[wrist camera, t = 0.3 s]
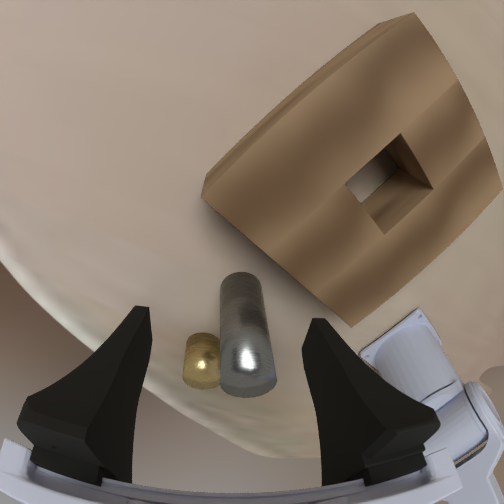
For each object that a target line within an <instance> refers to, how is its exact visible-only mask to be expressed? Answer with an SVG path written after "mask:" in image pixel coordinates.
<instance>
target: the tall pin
mask: <svg viewBox="0 0 504 504" xmlns="http://www.w3.org/2000/svg"><path fill="white" fill-rule="evenodd" d="M276 382H277V378H276V372H275V366H274V360H273V354H272V348H271V342H270V336H269V330H268V324H267V318H266V312H265V307H264V301H263V295H262V289H261V284H260V282H259V280H258V279H257V278H256V277H255V276H254V275H252V274H250V273H246V272H237V273H233V274H231V275H229V276H227V277H226V278H225V279H224V280H223V282H222V284H221V288H220V386H221V388H222V389H223V390H224V391H225V392H226V393H228V394H230V395H232V396H236V397H242V398H250V397H256V396H260V395H263V394H265V393H267V392H269V391H270V390H272V389H273V388H274V386H275V385H276Z"/></svg>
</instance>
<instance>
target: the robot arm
mask: <svg viewBox="0 0 504 504" xmlns="http://www.w3.org/2000/svg"><path fill="white" fill-rule="evenodd" d="M441 345H442V341H441V340H440V338H439V337H438V335H437V333H436V332H435V330H434V329H433V327H432V326H431V324H430V323H429V321H428V320H427V318H426V316H425V315H424V313H423V312H422V311H421V309H416V310H415V311H414V312H412V313H411V314H410V315H409V316H407V317H406V318H405V319H404V320H402V321H401V322H400V323H399V324H397V325H396V326H395V327H393V328H392V329H391V330H390V331H388V332H387V333H386V334H384V335H383V336H382V337H380V338H379V339H377V340H376V341H375V342H373V343H372V344H371V345H369V346H368V347H366V348H365V349H364V350H362V351H361V352H360V356H361V358H363V359H364V360H365V361H367V362H368V363H369V364H370V365H372V366H373V367H374V368H376V369H377V370H378V371H379V372H380V374H381V377H382V378H381V377H380V376H379V375H378V374H377V373H375V372H374V371H373V370H372V369H371V368H370V367H369V366H367V365H366V364H365V363H364V362H363V361H362V360H361V359H360V358H359V357H358V356H357V355H356V353H355V352H354V351H353V350H352V349H351V348H350V347H349V346H348V345H347V344H346V342H345V341H344V340H343V339H342V338H341V337H340V335H339V334H338V333H337V332H336V331H335V330H334V328H333V327H332V326H331V325H330V324H329V322H328V321H327V320H326V319H325V318H312V321H311V324H310V327H309V329H308V332H307V335H306V338H305V341H304V343H303V346H302V357H303V364H304V370H305V374H306V377H307V381H308V385H309V388H310V392H311V396H312V399H313V403H314V407H315V411H316V416H317V423H318V430H319V439H320V450H321V465H322V487H315V488H308V489H300V490H290V491H279V492H264V493H205V492H190V491H179V490H170V489H161V488H155V487H148V486H142V485H136V484H132V455H133V439H134V429H135V419H136V411H137V406H138V401H139V397H140V393H141V389H142V385H143V382H144V378H145V374H146V371H147V367H148V363H149V359H150V353H151V346H152V331H151V322H150V312H149V307H143V306H135V307H133V309H132V310H131V311H130V313H129V314H128V315H127V316H126V318H125V319H124V320H123V321H122V323H121V324H120V325H119V326H118V327H117V329H116V330H115V331H114V332H113V333H112V334H111V335H110V337H109V338H108V339H107V340H106V341H105V342H104V343H103V344H102V345H101V346H100V347H99V348H98V349H97V350H96V351H95V352H94V353H93V354H92V355H91V356H90V357H89V358H88V359H87V360H85V361H84V362H83V363H82V364H81V365H79V366H78V367H77V368H76V369H74V370H73V371H72V372H70V373H69V374H68V375H66V376H65V377H63V378H62V379H60V380H59V381H57V382H55V383H54V384H52V385H50V386H49V387H47V388H45V389H43V390H41V391H39V392H37V393H35V394H33V395H31V396H28V397H27V399H26V401H25V403H24V405H23V407H22V410H21V413H20V415H19V418H18V421H17V426H18V428H19V429H20V431H21V432H22V433H23V434H24V435H25V436H26V437H27V438H28V439H29V440H30V441H31V442H32V443H33V444H34V447H33V450H30V449H29V448H27V447H25V446H23V445H20V444H18V443H16V442H14V441H12V440H9V439H7V438H5V440H4V442H3V445H2V448H1V451H0V491H2V492H3V493H5V494H7V495H8V496H10V497H12V498H14V499H15V500H17V501H19V502H21V503H23V504H434V503H436V502H438V501H440V500H444V501H447V502H448V504H504V497H503V494H502V492H501V490H500V487H499V485H498V483H497V480H496V478H495V476H494V474H493V470H494V468H495V466H496V464H497V462H498V460H499V458H500V456H501V454H502V452H503V450H504V427H503V425H502V423H501V420H500V417H499V415H498V413H497V410H496V409H495V407H494V405H493V403H492V401H491V400H490V398H489V397H488V395H487V394H486V392H485V391H484V389H483V388H482V387H481V385H480V384H479V383H478V382H472V381H469V382H467V383H466V384H464V383H463V382H462V380H461V378H460V377H459V375H458V373H457V372H456V370H455V368H454V367H453V365H452V363H451V362H450V360H449V358H448V357H447V355H446V354H445V352H444V351H443V349H442V347H441ZM487 439H488V442H487V443H486V444H485V445H484V446H483V447H482V448H480V449H479V450H477V451H476V452H474V453H473V454H471V455H470V456H469V457H467V458H465V459H464V460H462V461H461V462H459V463H458V464H456V465H454V462H455V461H457V460H458V459H460V458H461V457H463V456H464V455H466V454H467V453H469V452H470V451H472V450H473V449H475V448H476V447H478V446H479V445H480V444H482V443H483V442H484V441H486V440H487Z"/></svg>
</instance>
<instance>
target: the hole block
mask: <svg viewBox="0 0 504 504" xmlns="http://www.w3.org/2000/svg"><path fill="white" fill-rule="evenodd" d="M384 147H385V149H386V150H387V152H388V153H389V155H390V156H391V158H392V159H393V161H394V162H395V164H396V165H397V167H398V168H399V170H398V171H396V172H395V173H394V174H393V175H392V176H391V177H390V178H389V179H388V180H387V181H386V182H384V183H383V184H382V185H381V186H380V187H379V188H378V189H377V190H376V191H374V192H373V193H372V194H371V195H370V196H369V197H368V198H367V199H366V200H364V201H363V202H362V203H361V204H360V202H359V201H358V200H357V198H356V197H355V196H354V195H353V193H352V192H351V191H350V190H349V189H348V187H347V186H346V185H345V184H344V183H346V182H347V181H348V180H349V179H350V178H351V177H352V176H353V175H354V174H356V173H357V172H358V171H359V170H360V169H361V168H362V167H363V166H364V165H366V164H367V163H368V162H369V161H370V160H371V159H372V158H373V157H374V156H376V155H377V154H378V153H379V152H380V151H381V150H382V149H383V148H384ZM502 189H503V188H502V184H501V181H500V178H499V174H498V171H497V168H496V165H495V162H494V159H493V157H492V154H491V151H490V148H489V146H488V143H487V141H486V138H485V136H484V133H483V131H482V128H481V126H480V124H479V121H478V119H477V117H476V115H475V112H474V110H473V108H472V106H471V104H470V102H469V100H468V98H467V96H466V94H465V92H464V90H463V88H462V86H461V84H460V82H459V81H458V79H457V77H456V75H455V73H454V72H453V70H452V68H451V66H450V65H449V63H448V61H447V60H446V58H445V56H444V55H443V53H442V52H441V50H440V49H439V47H438V45H437V44H436V42H435V41H434V39H433V38H432V36H431V35H430V34H429V32H428V31H427V29H426V28H425V26H424V25H423V24H422V22H421V21H420V20H419V18H418V17H417V16H416V14H415V13H410V14H407V15H403V16H400V17H397V18H394V19H391V20H388V21H385V22H382V23H379V24H377V25H376V26H375V27H373V28H372V29H370V30H369V31H368V32H366V33H365V34H364V35H362V36H361V37H360V38H358V39H357V40H356V41H354V42H353V43H352V44H350V45H349V46H348V47H346V48H345V49H344V50H343V51H341V52H340V53H339V54H337V55H336V56H335V57H334V58H332V59H331V60H330V61H329V62H327V63H326V64H325V65H324V66H323V67H321V68H320V69H319V70H318V71H317V72H315V73H314V74H313V75H312V76H311V77H309V78H308V79H307V80H306V81H305V82H303V83H302V84H301V85H300V86H299V87H298V88H297V89H295V90H294V91H293V92H292V93H291V94H290V95H289V96H287V97H286V98H285V99H284V100H283V101H282V102H281V103H280V104H278V105H277V106H276V107H275V108H274V109H273V110H272V111H271V112H270V113H269V114H267V115H266V116H265V117H264V118H263V119H262V120H261V121H260V122H259V123H258V124H257V125H256V126H255V127H254V128H253V129H251V130H250V131H249V132H248V133H247V134H246V135H245V136H244V137H243V138H242V139H241V140H240V141H239V142H238V143H237V144H236V145H235V146H234V147H233V148H232V149H231V150H230V151H229V152H228V153H227V154H226V155H225V156H224V157H223V158H222V159H221V160H220V161H219V162H218V163H217V164H216V165H215V166H214V167H213V168H212V169H211V170H210V171H209V172H208V173H207V174H206V178H205V182H204V186H203V190H202V194H201V198H202V199H203V200H204V201H205V202H207V203H208V204H209V205H210V206H211V207H212V208H214V209H215V210H216V211H217V212H218V213H220V214H221V215H222V216H223V217H224V218H225V219H227V220H228V221H229V222H230V223H231V224H232V225H234V226H235V227H236V228H237V229H238V230H239V231H240V232H242V233H243V234H244V235H245V236H246V237H247V238H249V239H250V240H251V241H252V242H253V243H254V244H256V245H257V246H258V247H259V248H260V249H261V250H263V251H264V252H265V253H266V254H267V255H268V256H270V257H271V258H272V259H273V260H274V261H275V262H276V263H278V264H279V265H280V266H281V267H282V268H283V269H285V270H286V271H287V272H288V273H289V274H290V275H291V276H293V277H294V278H295V279H296V280H297V281H298V282H300V283H301V284H302V285H303V286H304V287H305V288H306V289H308V290H309V291H310V292H311V293H312V294H313V295H314V296H316V297H317V298H318V299H319V300H320V301H321V302H323V303H324V304H325V305H326V306H327V307H328V308H329V309H331V310H332V311H333V312H334V313H335V314H336V315H337V316H339V317H340V318H341V319H342V320H343V321H344V322H345V323H347V324H348V325H349V326H350V327H351V328H352V327H353V326H354V325H356V324H357V323H358V322H360V321H361V320H362V319H364V318H365V317H366V316H368V315H369V314H370V313H371V312H373V311H374V310H375V309H377V308H378V307H379V306H380V305H382V304H383V303H384V302H385V301H387V300H388V299H389V298H390V297H392V296H393V295H394V294H395V293H396V292H398V291H399V290H400V289H401V288H402V287H404V286H405V285H406V284H407V283H408V282H409V281H411V280H412V279H413V278H414V277H415V276H416V275H417V274H419V273H420V272H421V271H422V270H423V269H424V268H425V267H426V266H428V265H429V264H430V263H431V262H432V261H433V260H434V259H435V258H436V257H437V256H438V255H440V254H441V253H442V252H443V251H444V250H445V249H446V248H447V247H448V246H449V245H450V244H451V243H452V242H453V241H454V240H455V239H456V238H457V237H458V236H459V235H460V234H461V233H462V232H463V231H464V230H465V229H466V228H467V227H468V226H469V225H470V224H471V223H472V222H473V221H474V220H475V219H476V218H477V217H478V216H479V215H480V214H481V213H482V211H483V210H484V209H485V208H486V207H487V206H488V205H489V204H490V203H491V202H492V200H493V199H494V198H495V197H496V196H497V195H498V194H499V193H500V191H501V190H502Z"/></svg>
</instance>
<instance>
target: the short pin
mask: <svg viewBox="0 0 504 504" xmlns="http://www.w3.org/2000/svg"><path fill="white" fill-rule="evenodd" d="M183 380H184V382H185V383H186V384H187V385H189V386H191V387H193V388H196V389H211V388H214V387H216V386H218V385H219V384H220V340H219V339H218V338H217V337H215V336H214V335H212V334H208V333H196V334H193V335H191V336H190V337H189V338H188V339H187V343H186V351H185V361H184V370H183Z"/></svg>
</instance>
